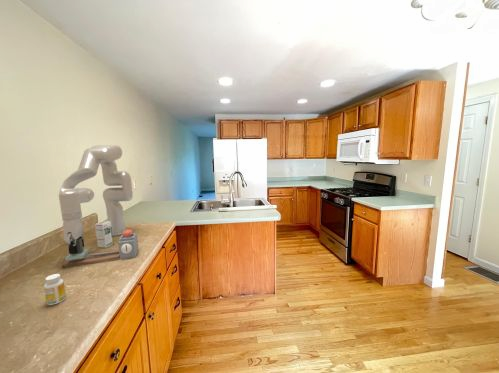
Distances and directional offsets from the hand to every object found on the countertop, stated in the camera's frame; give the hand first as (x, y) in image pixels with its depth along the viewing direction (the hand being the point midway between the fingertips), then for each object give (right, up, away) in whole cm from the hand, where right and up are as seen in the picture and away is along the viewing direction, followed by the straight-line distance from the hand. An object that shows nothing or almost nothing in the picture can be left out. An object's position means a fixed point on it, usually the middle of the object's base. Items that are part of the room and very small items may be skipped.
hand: (77, 249), depth 108 cm
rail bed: (+7, -6, +3) cm, 9 cm away
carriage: (0, -3, +1) cm, 3 cm away
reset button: (+22, +6, +6) cm, 23 cm away
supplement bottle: (+15, -11, -28) cm, 34 cm away
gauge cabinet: (+22, -5, +8) cm, 24 cm away
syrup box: (+1, -4, +20) cm, 20 cm away
